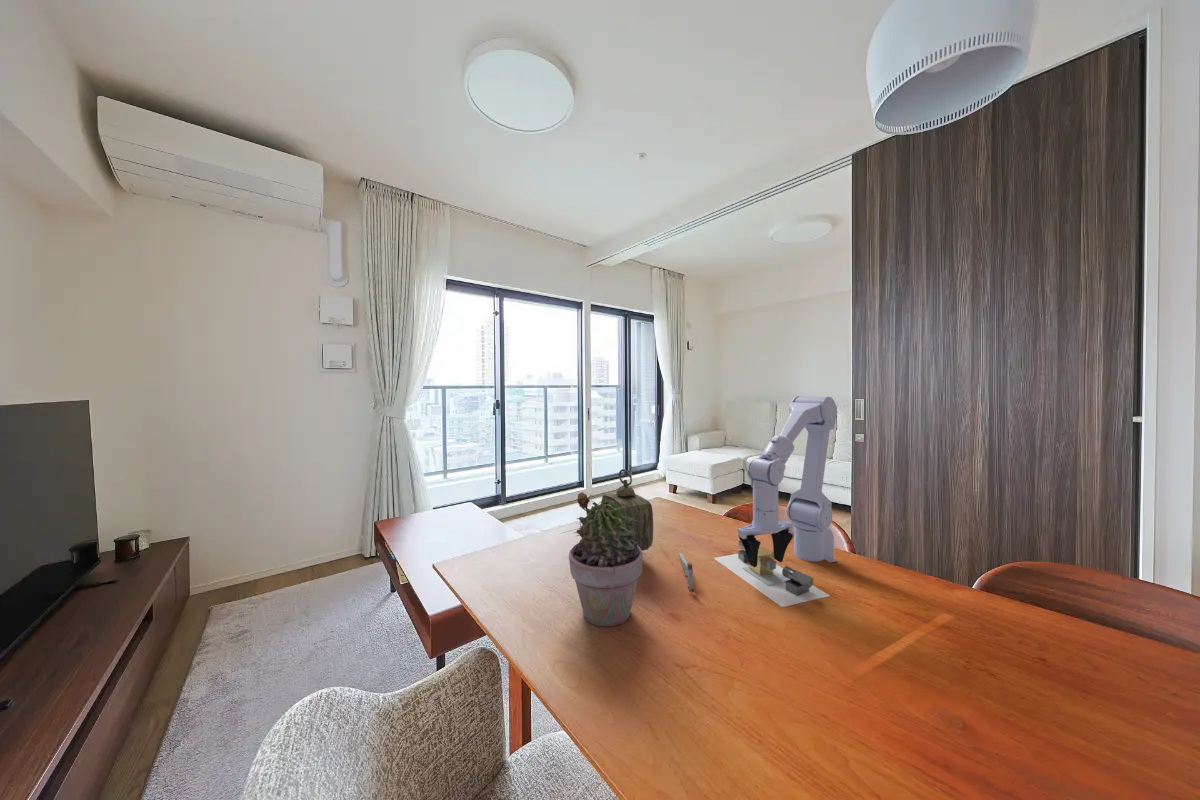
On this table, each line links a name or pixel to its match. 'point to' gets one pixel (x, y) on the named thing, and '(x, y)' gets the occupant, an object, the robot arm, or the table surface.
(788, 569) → the shaft
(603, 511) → the potted plant
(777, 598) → the bench
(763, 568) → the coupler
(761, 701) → the table surface
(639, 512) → the tabletop clock
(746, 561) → the shaft
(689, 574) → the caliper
